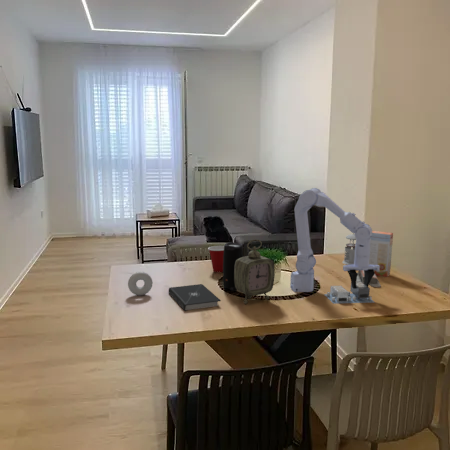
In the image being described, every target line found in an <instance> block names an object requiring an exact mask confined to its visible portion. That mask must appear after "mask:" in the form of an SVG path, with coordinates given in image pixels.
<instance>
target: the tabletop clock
mask: <svg viewBox="0 0 450 450" xmlns="http://www.w3.org/2000/svg"><path fill="white" fill-rule="evenodd" d="M253 242H259V243H260V244H259V246H258V247H257V246H255V245H254V246H253V248H251V247H249V245H250V244H251V243H253ZM262 245H263V243H262V241H261V240H260V239H257V238H256V239H255V238H254V239H251V240H250V241H248V243H247V245H246V246H247V249H248V250H250V251H249V252H248V254H247V255H246V256H243V257H241V258H239V259H237V260H236V262H235V269H234V282H235V287H236V290H238V292H240V293H242V294H244V295H245V296H244V300H243V304H245V305H246V304H248V300H247V299H252V296H260V295H264V299H265V300H269V299H270V296H269V295H267V293H270V292H271V291H272V290H273V287H274V285H275V284H274V283H275V263H274V259H271V258H268V257H265V256H262V255H261V252H260V251H258V250H259V249H260V248H262Z"/></svg>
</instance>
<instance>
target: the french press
mask: <svg viewBox="0 0 450 450" xmlns="http://www.w3.org/2000/svg"><path fill="white" fill-rule="evenodd" d="M345 238H346V239H347V240H349V243H346V244H345V245H346V246H345V247H344V258H343V260H342V261H341V262H342V264H344V265H352V264H354V258H355V244H356V243H354V242H355V241H356V237H355V233H352V234H347V235H346V236H345ZM351 242H352V243H351Z"/></svg>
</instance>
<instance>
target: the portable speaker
mask: <svg viewBox="0 0 450 450" xmlns="http://www.w3.org/2000/svg"><path fill="white" fill-rule="evenodd" d="M223 246H224V254H223V272H222V280H223V281H222V282H223V289H225V290H226V289H229V290H230V291H232V292H237V290H236V287H235V282H234V269H235V262H236V260H237V259H239V258H241V257H244V250H243V249H244V247H243V243H235V242H226V243H225V244H224V245H223Z"/></svg>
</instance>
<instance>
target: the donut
mask: <svg viewBox="0 0 450 450" xmlns="http://www.w3.org/2000/svg"><path fill="white" fill-rule="evenodd" d="M140 280H141V281H143V286H141V287H140V286H138V285H137V283H138V281H140ZM127 286H128V289H129V291H130V293H132V294H133V295H135V296H145V295H146V294H148V293H149V292H150V291H151V289H152V288H153V278H152V277H151V275H150V274H149V273H147V272H145V271H136V272H135V273H134V272H133V273H132V274H131V275H130V276H129V278H128V281H127Z"/></svg>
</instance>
